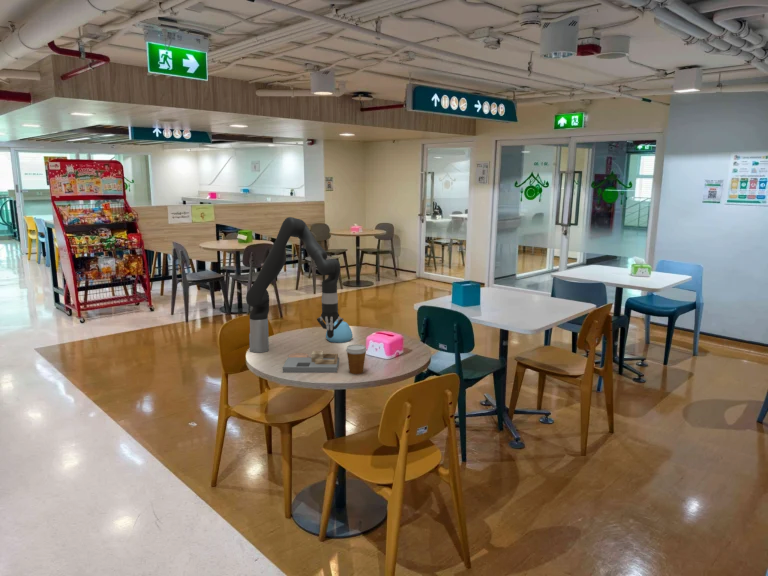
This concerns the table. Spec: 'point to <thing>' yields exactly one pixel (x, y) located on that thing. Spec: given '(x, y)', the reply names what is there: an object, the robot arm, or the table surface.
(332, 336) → the robot arm
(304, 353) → the saucer
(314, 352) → the block
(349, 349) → the disposable coffee cup
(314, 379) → the table surface
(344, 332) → the sugar bowl
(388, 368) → the table surface
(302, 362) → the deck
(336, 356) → the frame
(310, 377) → the table surface
